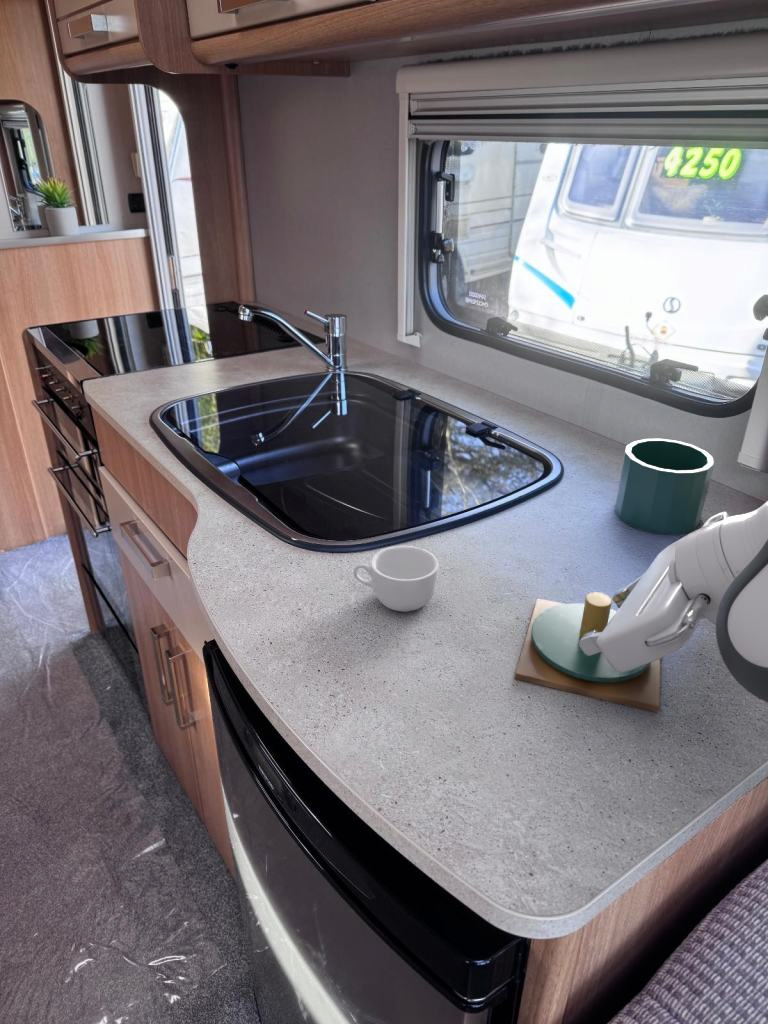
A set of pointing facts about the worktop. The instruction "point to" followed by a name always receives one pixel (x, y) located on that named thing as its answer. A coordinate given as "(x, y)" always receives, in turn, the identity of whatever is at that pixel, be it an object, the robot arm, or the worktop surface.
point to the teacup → (401, 577)
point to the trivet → (628, 692)
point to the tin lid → (577, 639)
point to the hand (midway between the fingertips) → (601, 622)
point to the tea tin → (663, 486)
